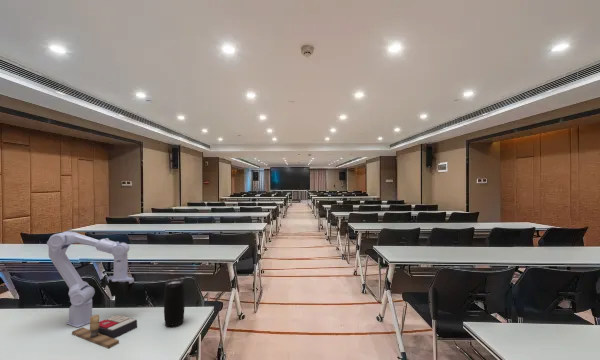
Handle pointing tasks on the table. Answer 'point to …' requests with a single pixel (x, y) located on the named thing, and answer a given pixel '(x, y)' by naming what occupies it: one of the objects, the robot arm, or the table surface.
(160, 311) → the table surface
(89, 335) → the board
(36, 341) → the table surface
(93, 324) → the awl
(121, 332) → the calculator
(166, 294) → the portable speaker
